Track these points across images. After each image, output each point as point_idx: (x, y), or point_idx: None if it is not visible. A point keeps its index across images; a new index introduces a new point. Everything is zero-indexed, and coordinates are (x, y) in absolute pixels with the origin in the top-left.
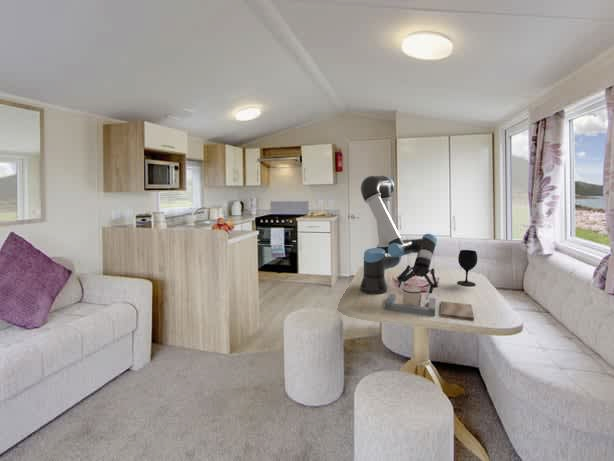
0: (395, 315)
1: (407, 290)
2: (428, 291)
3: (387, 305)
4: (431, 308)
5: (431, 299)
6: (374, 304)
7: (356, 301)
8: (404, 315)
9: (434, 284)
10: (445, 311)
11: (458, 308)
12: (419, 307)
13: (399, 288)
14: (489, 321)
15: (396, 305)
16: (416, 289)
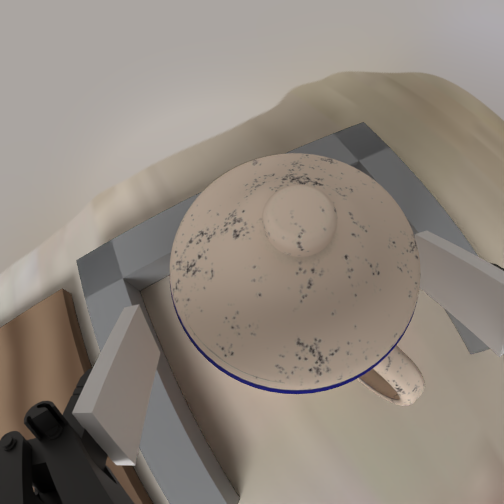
0: (261, 125)
1: (288, 153)
2: (103, 347)
3: (349, 130)
4: (101, 277)
5: (195, 483)
6: (444, 166)
7: (500, 148)
8: (227, 153)
9: (33, 456)
10: (52, 344)
11: None
12: (171, 231)
13: (453, 244)
14: None
15: (309, 151)
16: (207, 219)
